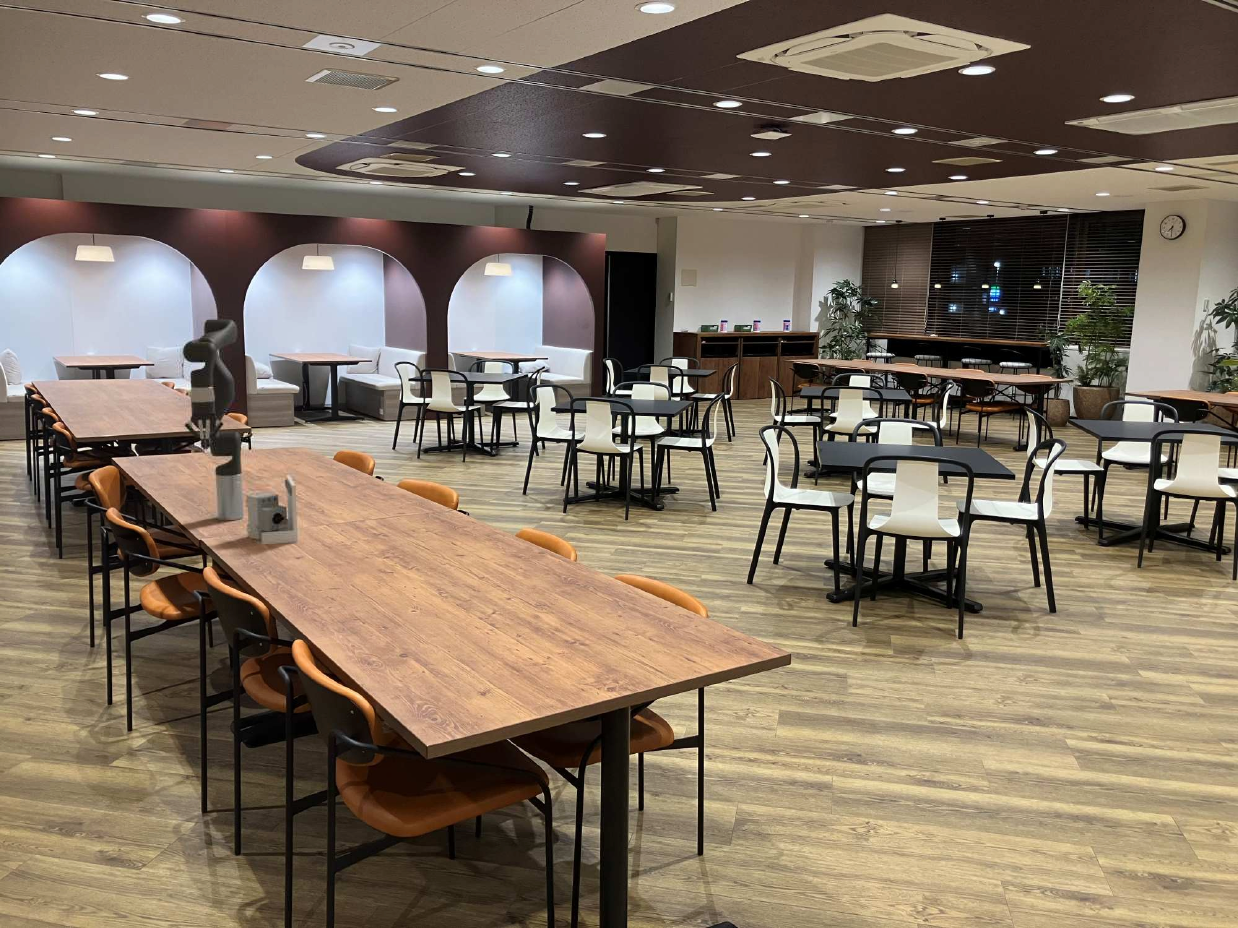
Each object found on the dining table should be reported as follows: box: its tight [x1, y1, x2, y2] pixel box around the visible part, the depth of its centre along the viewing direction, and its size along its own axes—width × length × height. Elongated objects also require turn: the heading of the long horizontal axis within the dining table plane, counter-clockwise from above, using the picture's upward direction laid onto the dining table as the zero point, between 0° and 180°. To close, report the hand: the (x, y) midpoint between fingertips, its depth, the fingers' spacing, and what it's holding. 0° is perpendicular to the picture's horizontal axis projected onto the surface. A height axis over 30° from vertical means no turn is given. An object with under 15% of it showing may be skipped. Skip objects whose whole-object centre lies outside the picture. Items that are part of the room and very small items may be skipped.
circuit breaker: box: [245, 491, 288, 541], centre depth 346 cm, size 8×14×15 cm, turn 55°
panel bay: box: [261, 475, 299, 545], centre depth 347 cm, size 20×12×20 cm, turn 24°
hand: (205, 449), depth 344 cm, fingers closed
